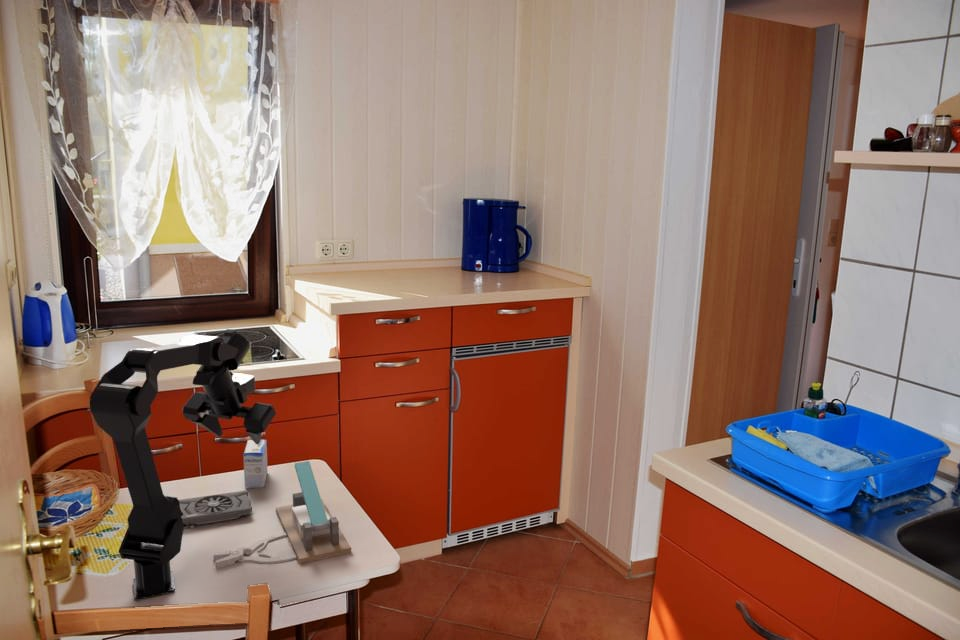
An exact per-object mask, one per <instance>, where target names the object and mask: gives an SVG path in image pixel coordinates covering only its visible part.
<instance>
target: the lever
mask: <svg viewBox="0 0 960 640" xmlns="http://www.w3.org/2000/svg"><path fill="white" fill-rule="evenodd" d="M294 468H295V473H296V475H297V479H298V483H299V486H300V489H301V492H302V493H303V497H304V500H305V504H306V507H307V511H308V514H309V517H310V521H311V524H312V531H313V532H315V531H320V530H325V529H330V524H329V522H328V520H327V517H326V513H325V510H324V507H323V504H322V501H321V499H322V498H321V495H320V492H319V488H318V486H317V481H316V479H315V476H314V472H313V469H312V466H311V462H310V461H309V460H307V461H301V462H296V463H295V462H294Z"/></svg>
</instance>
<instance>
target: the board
mask: <svg viewBox="0 0 960 640" xmlns="http://www.w3.org/2000/svg"><path fill="white" fill-rule="evenodd" d="M321 501H322V504H323V507H324V510H325V513H326V517H327V520H328V522H329V524H330V529H325V530H320V531H315V532H313V531H312V524H311V521H310V517H309V514H308V511H307V507H306V505H302V506H297V507H293V503H292V504H288V505H287V504H286V505H282V506H278V507H277V506H276V507H275V513H276V515H277V518H278V520H279V522H280V524H281V526H282V529H283V530H284V533H286V534H287V536H286V537H287V540H288V542H289V545H290V546H291V549H292V550H293V553H294V555H296V556H297V562H298V564H299V565H301V564H305V563H309V562H313V561H318V560H323V559H327V558H332V557H336V556H337V557H338V556H340V555H341V556H342V555H345V554H346V555H347V554H349V553H352V547H351V545H350V543H349V541H348V540H347V539H346V537H345V536H344V533H343V532H342V530H341V528H340V525H339V522H340V521H339V520H338V518H337V516H333V515H332V513H331V512H330V511H329V508H328V507H327V504H325V502H324V500H323V499H322V498H321Z"/></svg>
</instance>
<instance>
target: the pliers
mask: <svg viewBox="0 0 960 640" xmlns="http://www.w3.org/2000/svg"><path fill="white" fill-rule="evenodd" d="M284 537H287V534H286V533H285V532H283V533H279V534H278V533H277V534H275V535H271V536H268V537H264V538H262V539H259V540H257V541H255V542H254V543H251V544H250V545H249V546H248V547H247V546H246V547H245V546H241V547H238V548H236V550H234V551H232V552H231V550H227V551H220V552H216V553H213V554H212V556H213V557H212V559H213V560H212V561H213V562H214V563H215V564H214V565H215V568H216V569H220V568H222V567H227V566H230V565H231V566H232V565H235V562H240V563H242V562H252V563H256V564H257V563H258V564H277V563H278V564H279V563H284V562H290V561H293V560H296V559H297V556H296V555H295V554H293V555H288V556H279V557H275V556H273V555H272V554H269V553H260V552H261V551H263V550H264V549H265V548H266V546H267V545H268V543H270V542H272V541H275V540H279V539H281V538H284ZM259 547H260V548H259ZM256 550H257V551H256ZM254 551H256V552H257V553H258V555H252V556H245V555H248V554H251V553H253V552H254Z"/></svg>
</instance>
